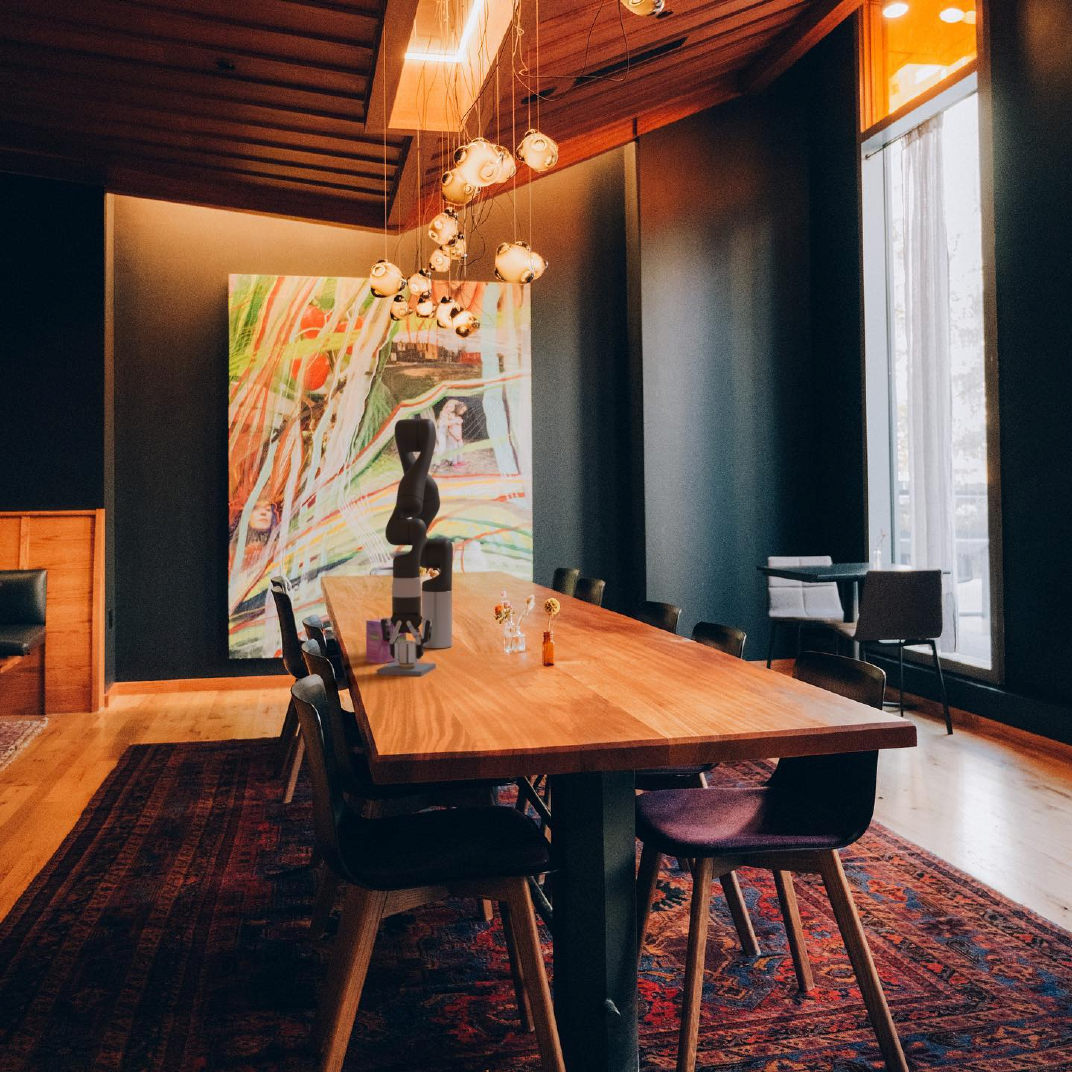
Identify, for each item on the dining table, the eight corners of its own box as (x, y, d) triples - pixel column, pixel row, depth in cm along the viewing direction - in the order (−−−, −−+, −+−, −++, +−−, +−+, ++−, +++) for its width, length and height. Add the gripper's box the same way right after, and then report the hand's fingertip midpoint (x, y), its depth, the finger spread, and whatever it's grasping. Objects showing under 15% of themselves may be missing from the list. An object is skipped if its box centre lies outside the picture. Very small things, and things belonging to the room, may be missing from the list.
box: (380, 664, 254) (379, 621, 254) (365, 662, 258) (365, 619, 257) (407, 659, 263) (407, 617, 262) (393, 657, 266) (392, 616, 266)
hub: (400, 658, 248) (399, 640, 248) (421, 659, 247) (421, 640, 246) (391, 662, 242) (391, 643, 242) (414, 663, 241) (414, 644, 241)
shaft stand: (393, 666, 251) (393, 639, 251) (435, 667, 249) (435, 640, 249) (376, 674, 240) (376, 645, 239) (421, 676, 237) (421, 647, 237)
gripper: (437, 593, 246) (437, 656, 247) (385, 592, 249) (386, 654, 250) (428, 596, 239) (428, 661, 239) (375, 595, 241) (375, 659, 242)
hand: (406, 657), depth 244 cm, fingers closed on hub, 6 cm apart
